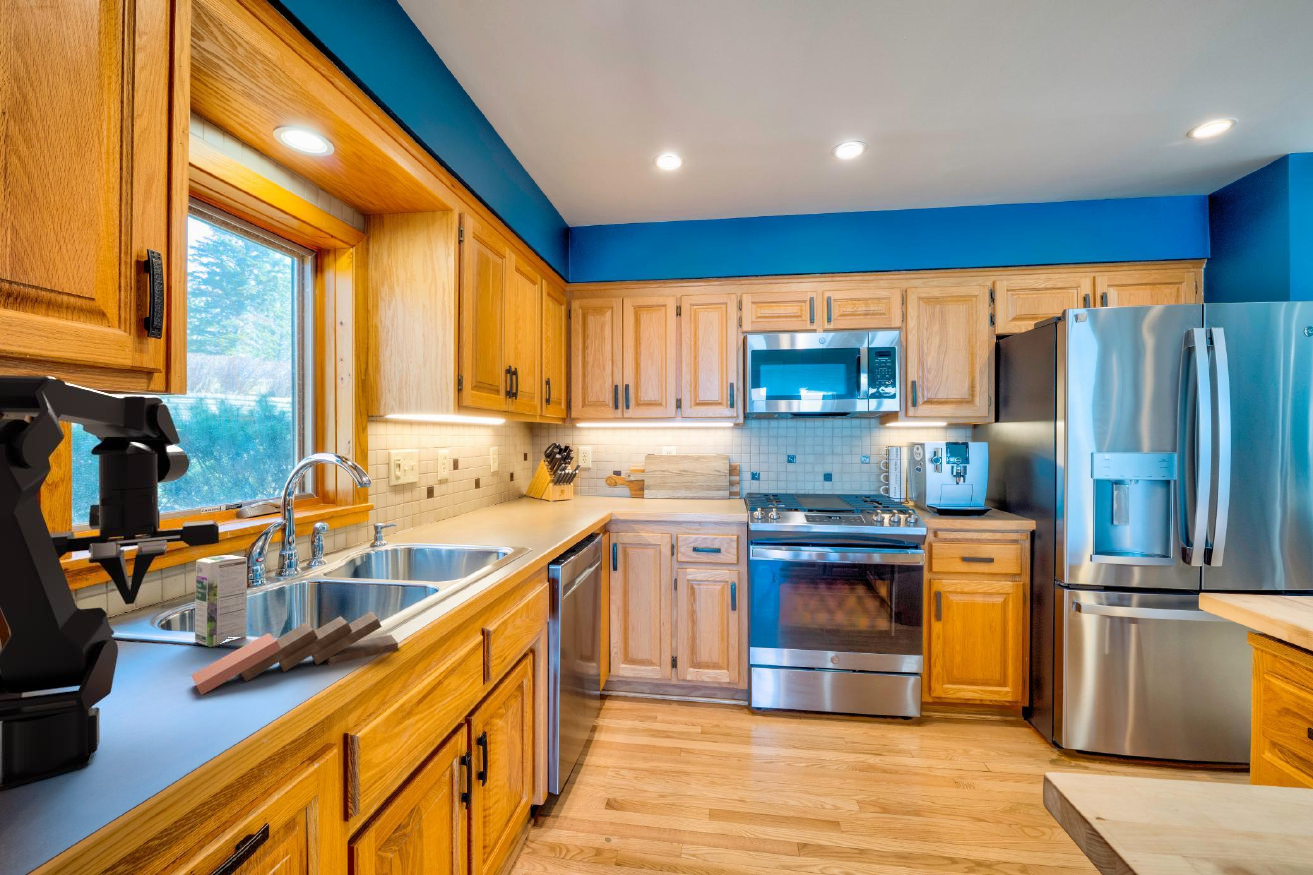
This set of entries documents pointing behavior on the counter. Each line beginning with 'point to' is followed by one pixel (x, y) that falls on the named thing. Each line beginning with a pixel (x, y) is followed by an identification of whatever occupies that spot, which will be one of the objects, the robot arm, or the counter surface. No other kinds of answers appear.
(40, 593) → the robot arm
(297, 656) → the domino
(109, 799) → the counter surface
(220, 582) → the syrup box
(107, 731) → the counter surface
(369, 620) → the domino
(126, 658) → the counter surface
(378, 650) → the domino
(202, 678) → the domino
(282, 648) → the domino
